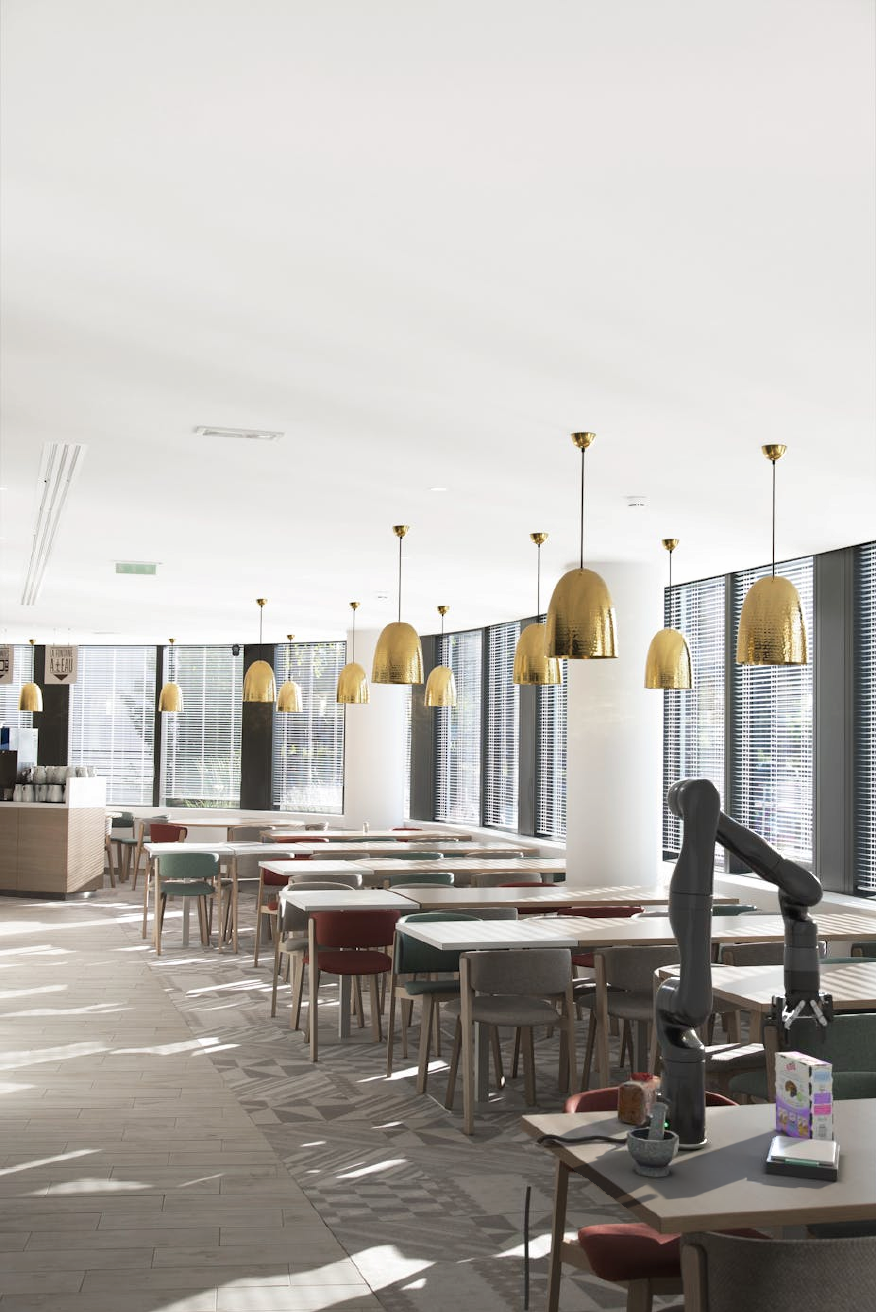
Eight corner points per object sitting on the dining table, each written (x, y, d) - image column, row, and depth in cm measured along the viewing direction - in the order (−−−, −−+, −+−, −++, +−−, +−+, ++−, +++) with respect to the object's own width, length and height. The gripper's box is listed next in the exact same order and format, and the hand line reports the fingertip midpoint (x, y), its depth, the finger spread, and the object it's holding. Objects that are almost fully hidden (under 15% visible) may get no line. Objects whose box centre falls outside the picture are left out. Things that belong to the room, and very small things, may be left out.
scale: (837, 1181, 237) (837, 1165, 237) (766, 1173, 241) (766, 1158, 241) (839, 1155, 254) (839, 1141, 254) (773, 1148, 258) (773, 1134, 258)
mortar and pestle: (669, 1182, 234) (669, 1116, 235) (620, 1174, 238) (621, 1109, 239) (685, 1167, 244) (685, 1103, 245) (638, 1159, 248) (639, 1097, 249)
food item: (637, 1109, 288) (637, 1064, 289) (670, 1114, 284) (670, 1069, 285) (614, 1121, 277) (614, 1075, 278) (648, 1127, 272) (648, 1080, 274)
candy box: (835, 1145, 261) (834, 1063, 263) (810, 1146, 260) (809, 1064, 261) (798, 1127, 274) (797, 1050, 276) (774, 1129, 273) (773, 1051, 275)
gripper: (819, 963, 277) (820, 1039, 275) (763, 965, 272) (764, 1042, 270) (840, 968, 270) (842, 1046, 268) (783, 970, 265) (784, 1049, 263)
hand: (803, 1044), depth 269 cm, fingers open, 8 cm apart
